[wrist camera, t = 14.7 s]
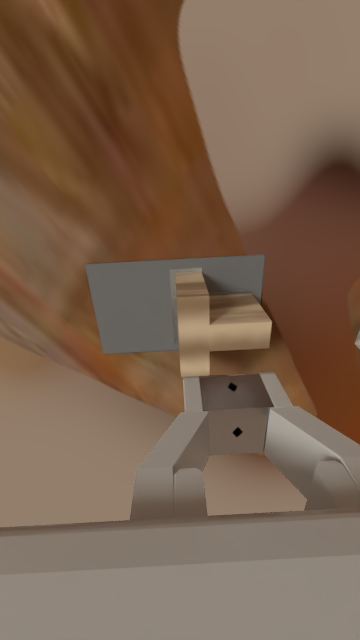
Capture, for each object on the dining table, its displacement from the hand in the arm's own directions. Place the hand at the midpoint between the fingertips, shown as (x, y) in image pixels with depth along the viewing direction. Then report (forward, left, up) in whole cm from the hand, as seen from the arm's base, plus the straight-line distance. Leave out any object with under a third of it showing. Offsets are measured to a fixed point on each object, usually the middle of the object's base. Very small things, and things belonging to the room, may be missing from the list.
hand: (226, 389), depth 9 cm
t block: (+12, +4, -34) cm, 36 cm away
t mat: (+12, -2, -34) cm, 36 cm away
